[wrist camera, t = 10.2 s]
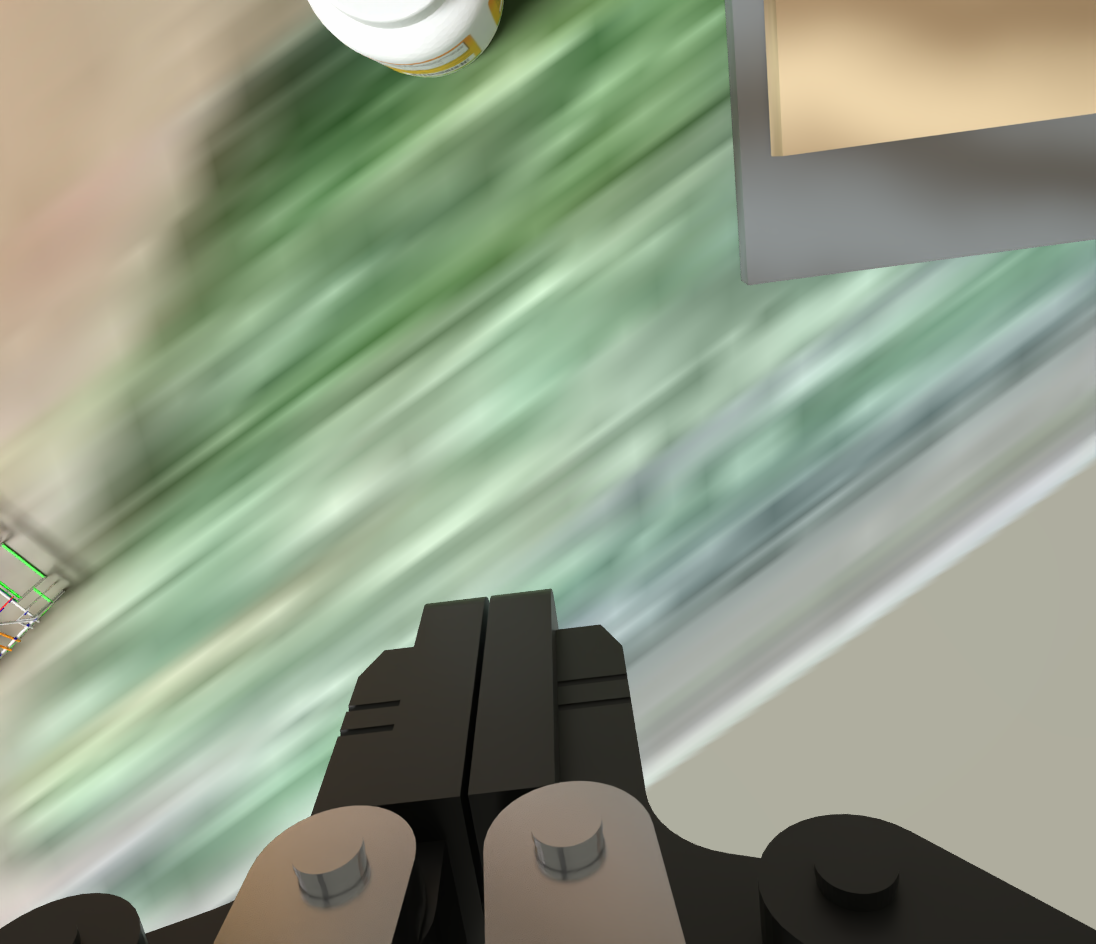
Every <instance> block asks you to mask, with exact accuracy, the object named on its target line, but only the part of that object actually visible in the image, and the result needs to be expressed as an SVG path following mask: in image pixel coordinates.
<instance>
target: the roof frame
mask: <svg viewBox="0 0 1096 944" xmlns="http://www.w3.org/2000/svg"><path fill="white" fill-rule="evenodd" d="M1 546H3V547H4V548H5V549H6V550H8V551H9V552H10V553H12V554H13V555H14V556H15V557H17V558H18V559H19V560H21V561H22V562H23V563H24V564H26V565H27V566H28V567H30V568H31V569H32V570H33V571H35V572H36V573H37V574H39V575H40V576H41V577H42V579H41V580H40V581H39V582H38V583H36V584H35V585H34V586H33V587H32V588H31V589H30V590H28V591H27V592H26V593H25V594H24V595H23V596H19V595H18V594H17V593H15V592H14V591H13V590H11V589H10V588H9V587H8V586H6V585H5V584H4V583H2V582H1V581H0V585H2V586H3V587H4V588H6V589H7V590H8V591H10V592H11V593H12V594H14V595H15V596H16V597H17V598H19V599H18V600H16V599H15V598H13V597H14V596H13V597H12V596H11V595H9V594H8V593H7V592H8V591H6V592H5V591H4V590H3V589H1V588H0V594H2V595H3V596H4V597H6V598H7V599H8V600H9V601H8V602H9V603H10V602H12V603H13V604H15V605H16V606H17V607H19V608H20V609H21V610H23V611H24V613H23V615H26V614H28V615H29V616H31V617H32V618H27V619H20V618H21V617H22V616H23V615H22V616H21V617H20V618H19V619H18V620H17V621H10V622H1V623H0V625H5V624H14V623H19V624H21V625H24V626H26V627H25V628H24V629H23V630H22V631H21V632H20V633H19V634H18V635H17V636H16V637H15V638H14V637H11V636H9V635H6V634H4V633H1V632H0V635H2V636H5V637H7V638H10V639H12V641H11V642H10V643H9V644H8V645H7V647H5V646H2V645H0V647H1V648H3V649H4V650H3V651H2V652H1V653H0V659H1V658H2V657H3V656H4V655H5V654H6V653H7V652H8V651H12V649H11V648H12V647H13V646H14V645H15V644H16V642H21V640H19V639H20V638H21V637H22V636H23V635H24V634H25V633H26V632H27V631H28V629H29V628H31V629H33V628H34V627H32V625H34V624H35V622H36V621H37V622H40V620H38V619H39V618H40V617H41V616H42V615H43V614H44V613H45V612H46V611H47V610H48V609H49V608H50V607H51V606H52V605H53V604H54V603H55V601H56V600H57V599H58V598H59V597H60V596H61V595H62V594H63V593H64V592H65V591H64V592H63V590H62V591H61V592H59V593H58V594H57V595H56V596H55V597H54V598H53V599H54V600H53V599H52V600H50V599H49V598H48V597H46V596H45V595H44V594H45V593H46V592H47V591H48V590H49V589H50V588H51V587H52V586H53V585H54V584H55V583H54V584H53V585H52V586H51V587H49V588H48V589H47V590H46V591H45V592H44V593H43V594H42V593H41V592H40V591H39V590H37V589H36V588H35V587H36V586H38V585H39V584H40V583H41V582H42V581H43V580H44V579H46V578H47V577H46V576H44V575H43V574H41V573H40V572H39V571H38V570H36V569H35V568H34V567H32V566H31V565H30V564H29V563H27V562H26V561H25V559H22V558H21V557H20V556H18V555H17V554H16V553H15V552H13V551H12V550H11V549H9V548H8V547H7V546H6V545H4V543H3V542H2V543H1V544H0V547H1ZM32 590H34V591H35V592H37V593H38V594H39V595H41V596H42V597H43V598H45V599H46V600H47V601H48V602H49V603H48V604H47V605H46V606H44V607H43V608H42V609H41V610H40V611H39V612H38V613H37V614H38V615H37V614H36V615H35V616H34V615H32V614H31V613H30V612H29V611H28V610H29V609H30V608H29V607H30V606H31V605H32V604H33V603H35V602H36V601H37V600H38V599H39V598H40V597H41V596H39V597H38V598H37V599H36V600H35V601H34V602H33V603H32V604H31V605H30V606H28V607H27V608H26V609H25V608H23V607H22V606H21V605H19V604H18V602H19V601H21V600H22V599H23V598H24V597H25V596H26V595H27V594H29V593H30V592H31V591H32ZM8 602H7V603H6V604H5V605H4V606H3V607H2V608H1V609H0V612H1V611H2V610H3V609H4V607H5V606H6V605H7V604H8ZM23 622H29V623H28V624H25V623H23Z"/></svg>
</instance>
